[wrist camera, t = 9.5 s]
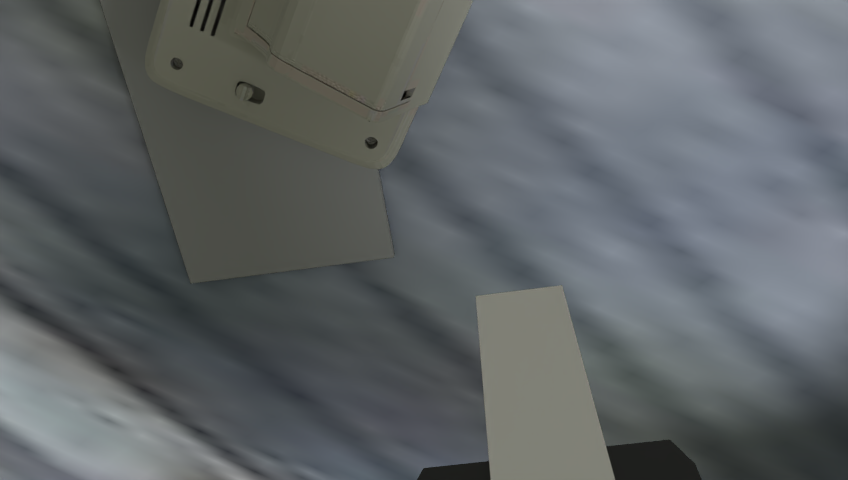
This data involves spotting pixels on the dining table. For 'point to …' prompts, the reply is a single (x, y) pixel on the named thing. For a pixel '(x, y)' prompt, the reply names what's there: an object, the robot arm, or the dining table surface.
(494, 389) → the robot arm
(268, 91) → the digital clock
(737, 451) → the dining table surface
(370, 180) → the mat
